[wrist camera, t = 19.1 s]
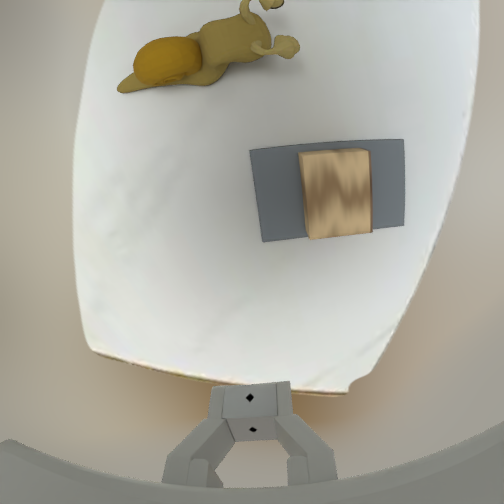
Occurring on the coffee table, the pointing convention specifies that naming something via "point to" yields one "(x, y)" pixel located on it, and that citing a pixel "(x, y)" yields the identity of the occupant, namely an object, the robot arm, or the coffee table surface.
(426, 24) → the coffee table surface
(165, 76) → the toy
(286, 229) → the mat
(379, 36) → the coffee table surface
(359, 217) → the slab
